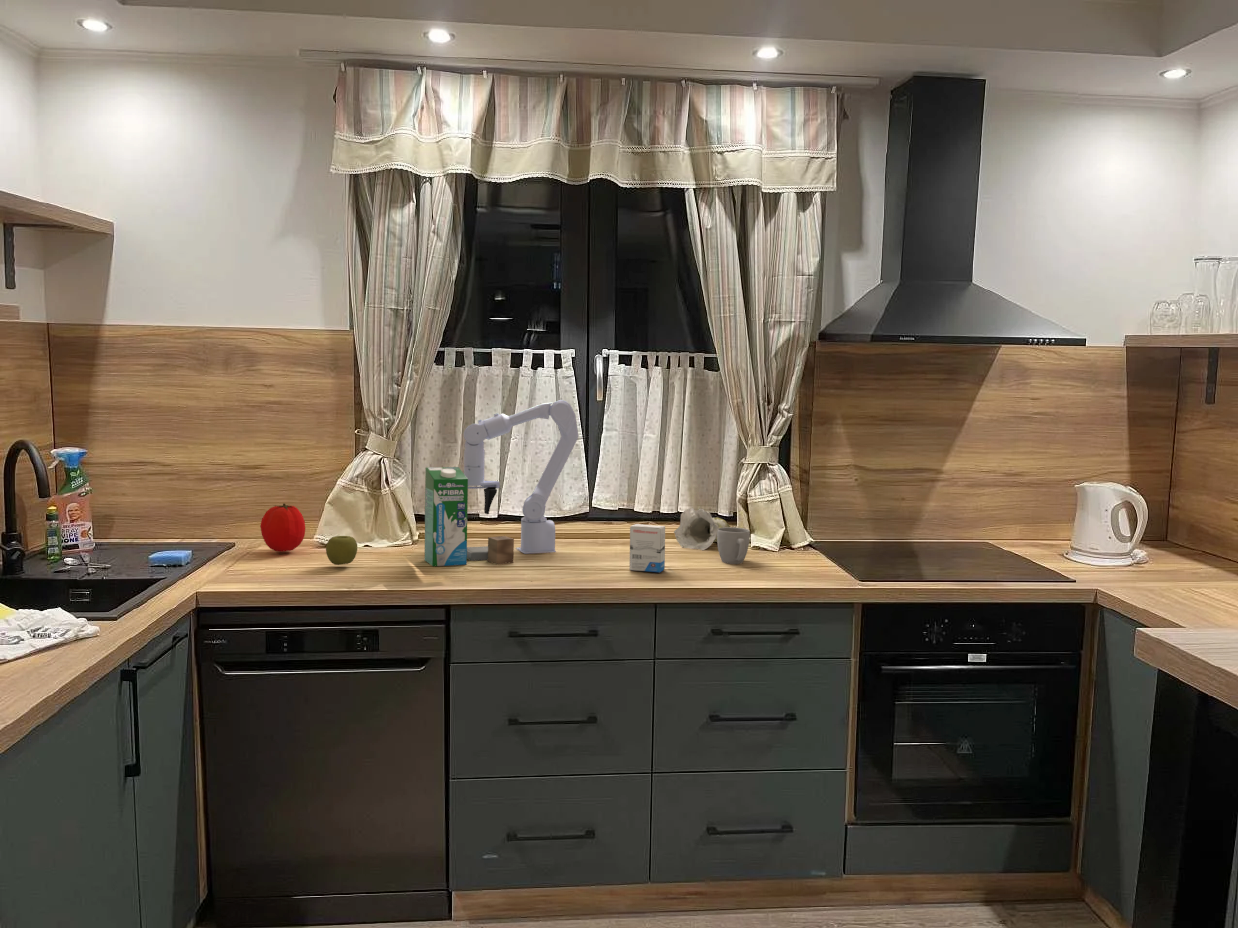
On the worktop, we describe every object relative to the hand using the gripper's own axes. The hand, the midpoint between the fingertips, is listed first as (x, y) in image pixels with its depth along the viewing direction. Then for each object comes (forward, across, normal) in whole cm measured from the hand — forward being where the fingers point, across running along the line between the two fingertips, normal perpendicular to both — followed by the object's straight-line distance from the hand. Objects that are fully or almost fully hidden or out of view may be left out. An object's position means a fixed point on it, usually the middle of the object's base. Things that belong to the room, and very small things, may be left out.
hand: (473, 514), depth 263 cm
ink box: (+11, -36, +39) cm, 54 cm away
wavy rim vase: (+13, -63, +20) cm, 67 cm away
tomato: (+11, +50, -12) cm, 53 cm away
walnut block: (+10, -3, +18) cm, 21 cm away
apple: (+11, +38, +10) cm, 40 cm away
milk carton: (+11, +12, +15) cm, 22 cm away
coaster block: (+11, 0, +10) cm, 15 cm away
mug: (+11, -62, +41) cm, 75 cm away
